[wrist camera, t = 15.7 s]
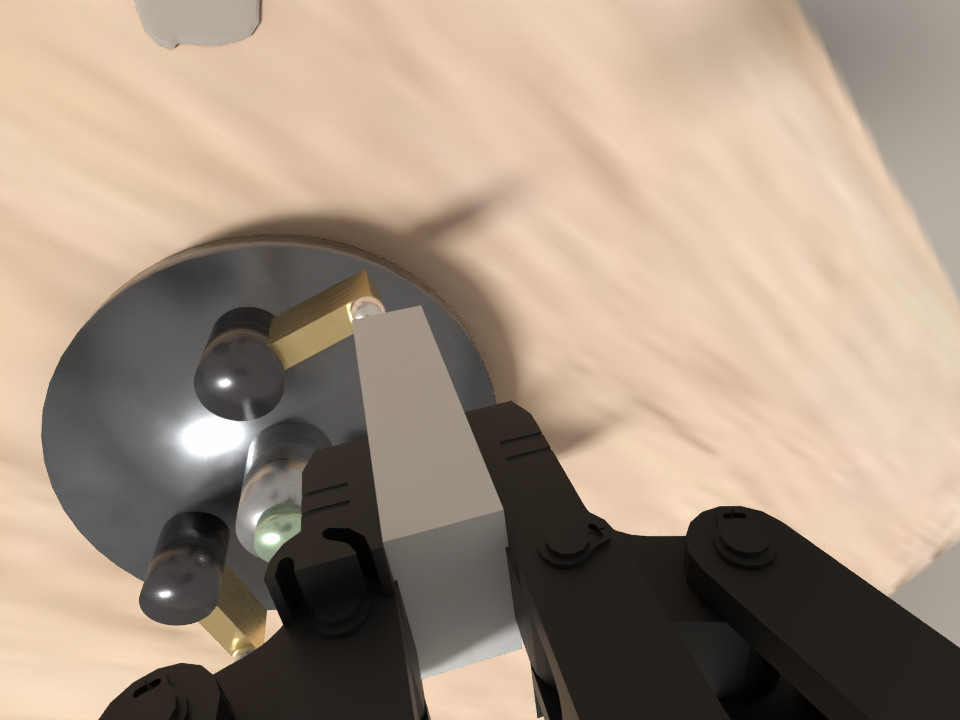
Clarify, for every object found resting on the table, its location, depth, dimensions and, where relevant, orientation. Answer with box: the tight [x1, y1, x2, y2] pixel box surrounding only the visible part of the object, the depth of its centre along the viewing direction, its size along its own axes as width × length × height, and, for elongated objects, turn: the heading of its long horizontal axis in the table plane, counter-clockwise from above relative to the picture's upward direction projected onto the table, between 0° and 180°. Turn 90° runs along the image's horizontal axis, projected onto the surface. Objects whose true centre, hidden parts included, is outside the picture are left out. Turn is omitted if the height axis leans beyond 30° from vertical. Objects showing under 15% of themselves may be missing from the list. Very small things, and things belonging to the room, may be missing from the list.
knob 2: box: [194, 268, 386, 421], centre depth 24 cm, size 8×3×4 cm, turn 115°
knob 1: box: [139, 511, 267, 665], centre depth 29 cm, size 8×3×4 cm, turn 20°
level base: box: [41, 235, 496, 610], centre depth 28 cm, size 21×21×8 cm
